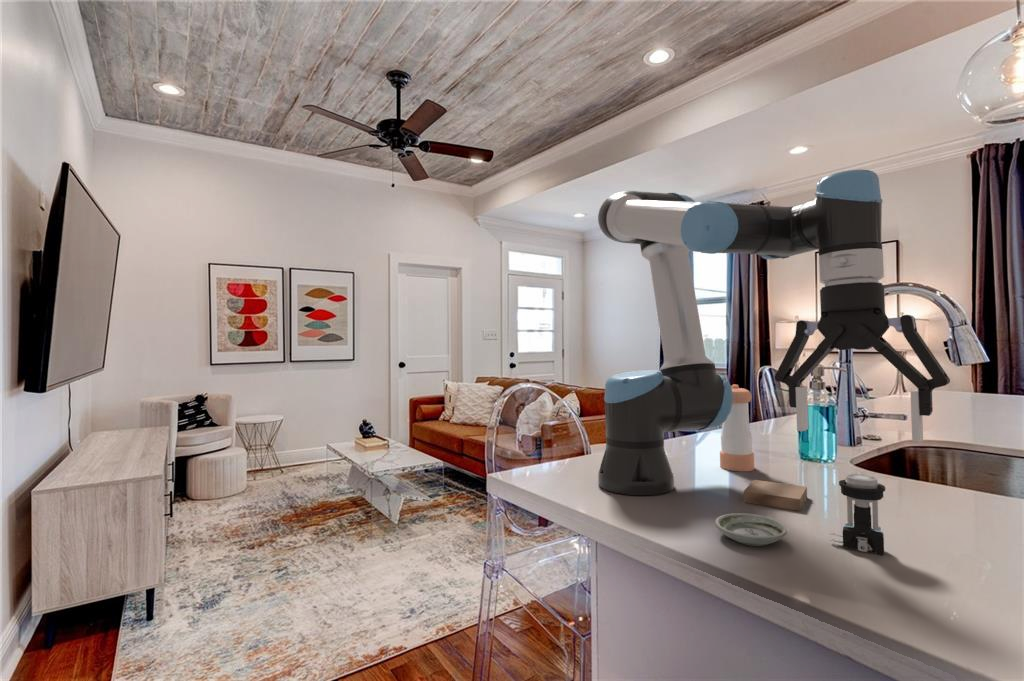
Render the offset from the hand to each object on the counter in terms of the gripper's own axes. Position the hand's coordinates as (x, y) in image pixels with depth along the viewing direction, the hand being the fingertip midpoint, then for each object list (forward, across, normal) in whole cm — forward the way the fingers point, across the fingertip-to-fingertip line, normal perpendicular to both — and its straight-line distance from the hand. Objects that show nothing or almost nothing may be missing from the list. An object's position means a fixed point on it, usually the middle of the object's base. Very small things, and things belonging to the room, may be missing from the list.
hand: (856, 435), depth 71 cm
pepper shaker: (+16, -31, +34) cm, 49 cm away
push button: (+16, 0, 0) cm, 16 cm away
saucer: (+16, -12, -6) cm, 21 cm away
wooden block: (+16, -16, +15) cm, 27 cm away
